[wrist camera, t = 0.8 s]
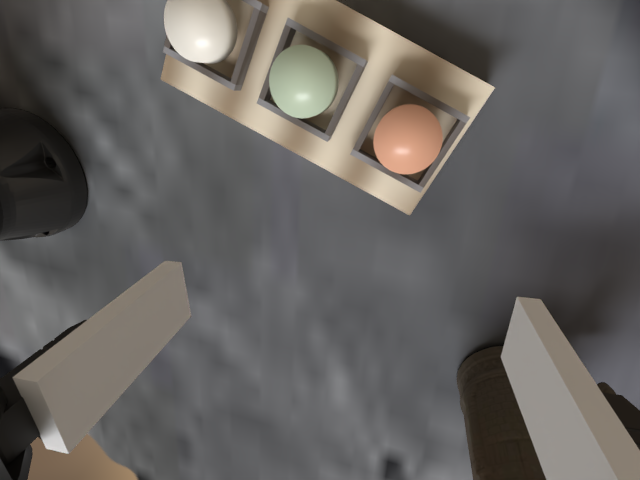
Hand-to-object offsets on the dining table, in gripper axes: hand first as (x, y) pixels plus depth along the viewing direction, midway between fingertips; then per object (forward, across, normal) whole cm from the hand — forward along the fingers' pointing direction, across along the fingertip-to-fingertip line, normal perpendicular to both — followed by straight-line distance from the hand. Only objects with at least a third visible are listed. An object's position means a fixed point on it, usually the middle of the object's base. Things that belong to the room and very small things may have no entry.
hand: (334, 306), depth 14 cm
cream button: (+18, -13, +12) cm, 26 cm away
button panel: (+23, -5, +8) cm, 25 cm away
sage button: (+18, -5, +8) cm, 21 cm away
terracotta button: (+18, +3, +4) cm, 19 cm away
